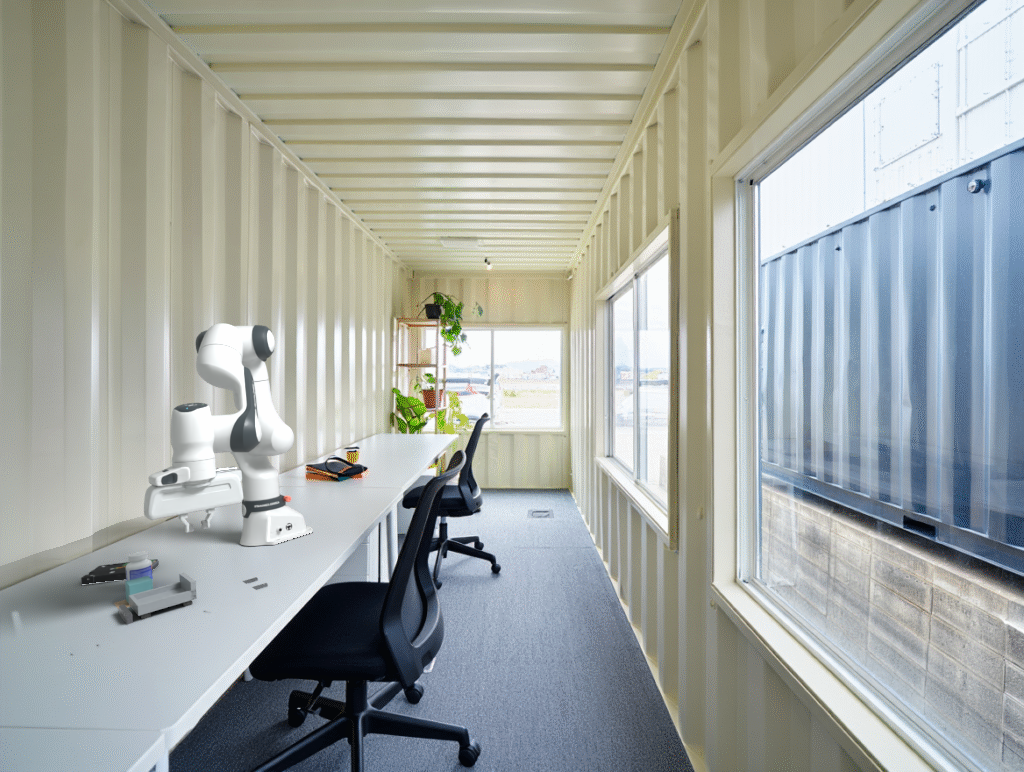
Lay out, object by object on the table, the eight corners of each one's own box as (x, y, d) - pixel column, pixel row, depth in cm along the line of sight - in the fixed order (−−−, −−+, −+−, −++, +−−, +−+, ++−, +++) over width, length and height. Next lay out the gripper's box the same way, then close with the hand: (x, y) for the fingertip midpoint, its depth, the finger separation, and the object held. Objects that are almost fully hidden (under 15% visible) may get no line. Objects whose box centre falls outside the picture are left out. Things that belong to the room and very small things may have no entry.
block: (148, 594, 126) (147, 575, 126) (153, 598, 123) (152, 579, 123) (126, 600, 123) (125, 581, 123) (130, 605, 120) (129, 585, 120)
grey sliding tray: (185, 596, 125) (184, 572, 125) (196, 605, 119) (195, 581, 119) (129, 612, 117) (128, 587, 117) (138, 623, 111) (137, 597, 111)
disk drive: (80, 588, 137) (145, 579, 141) (80, 578, 137) (145, 569, 141) (99, 575, 147) (159, 566, 151) (98, 565, 147) (159, 557, 151)
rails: (255, 579, 136) (255, 567, 136) (268, 586, 131) (267, 574, 131) (119, 619, 115) (118, 605, 115) (127, 630, 110) (126, 615, 110)
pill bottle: (158, 588, 133) (156, 550, 133) (137, 597, 128) (135, 557, 128) (143, 586, 135) (141, 549, 135) (121, 595, 130) (119, 556, 129)
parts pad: (159, 595, 128) (159, 590, 128) (165, 601, 124) (165, 596, 124) (113, 607, 122) (113, 602, 122) (119, 614, 118) (119, 609, 118)
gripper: (236, 464, 133) (239, 518, 133) (140, 477, 118) (143, 538, 118) (245, 466, 128) (248, 521, 129) (147, 480, 114) (150, 543, 114)
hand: (197, 529), depth 123 cm, fingers open, 2 cm apart
